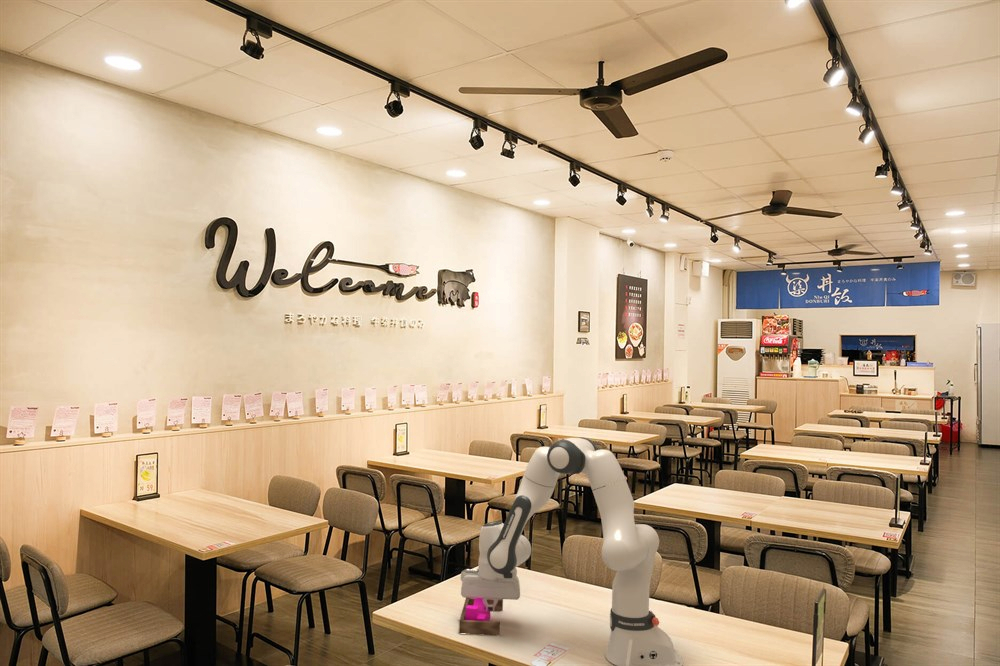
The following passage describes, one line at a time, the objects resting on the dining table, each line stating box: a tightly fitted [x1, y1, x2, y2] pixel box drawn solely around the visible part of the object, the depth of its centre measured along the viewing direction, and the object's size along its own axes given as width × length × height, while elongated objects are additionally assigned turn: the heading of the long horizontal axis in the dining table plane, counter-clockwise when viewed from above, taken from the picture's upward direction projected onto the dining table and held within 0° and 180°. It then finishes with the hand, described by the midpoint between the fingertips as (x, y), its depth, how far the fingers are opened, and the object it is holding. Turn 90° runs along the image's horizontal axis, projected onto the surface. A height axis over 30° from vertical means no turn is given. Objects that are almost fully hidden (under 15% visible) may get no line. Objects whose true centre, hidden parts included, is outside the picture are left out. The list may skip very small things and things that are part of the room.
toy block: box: [465, 598, 491, 621], centre depth 226 cm, size 15×6×8 cm, turn 169°
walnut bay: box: [458, 598, 504, 636], centre depth 227 cm, size 13×21×4 cm, turn 177°
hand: (490, 610), depth 227 cm, fingers closed
